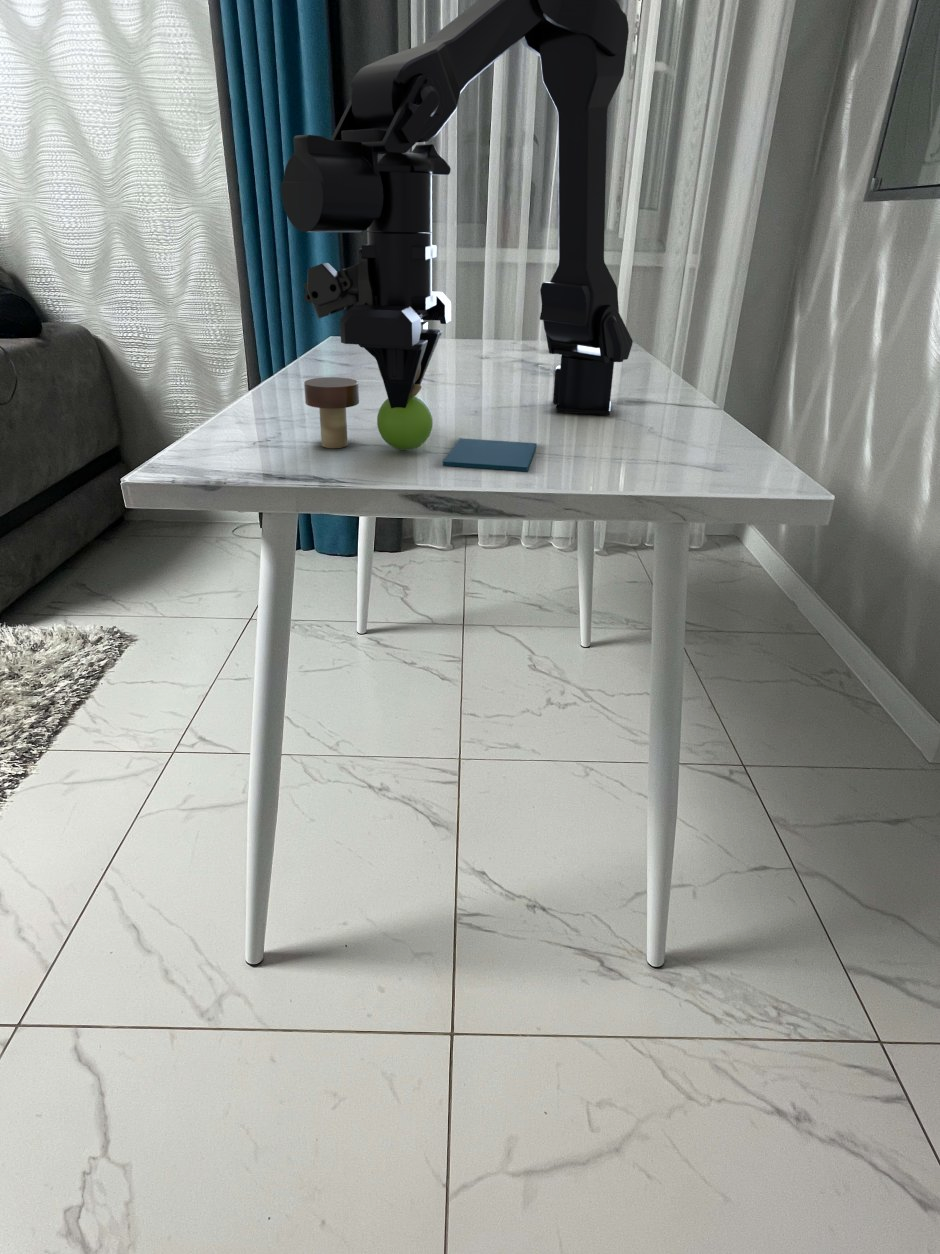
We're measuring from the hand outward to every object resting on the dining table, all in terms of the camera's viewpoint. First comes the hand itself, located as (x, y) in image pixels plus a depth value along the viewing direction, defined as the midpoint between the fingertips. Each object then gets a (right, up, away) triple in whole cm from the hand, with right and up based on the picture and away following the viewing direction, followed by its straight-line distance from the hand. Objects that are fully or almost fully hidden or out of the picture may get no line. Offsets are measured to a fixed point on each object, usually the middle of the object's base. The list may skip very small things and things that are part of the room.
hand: (402, 410), depth 79 cm
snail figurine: (0, -3, +2) cm, 4 cm away
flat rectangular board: (+9, -4, 0) cm, 10 cm away
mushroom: (-7, -3, +3) cm, 8 cm away
